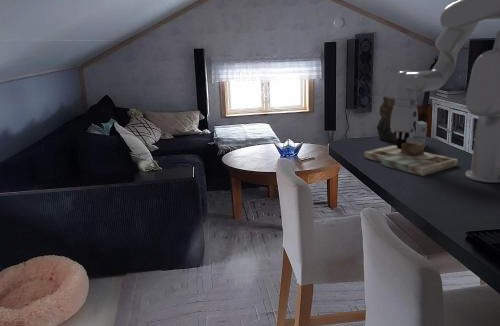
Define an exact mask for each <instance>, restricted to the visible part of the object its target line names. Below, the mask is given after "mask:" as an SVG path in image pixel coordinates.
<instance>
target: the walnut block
mask: <svg viewBox="0 0 500 326" xmlns="http://www.w3.org/2000/svg"><path fill="white" fill-rule="evenodd" d="M424 150H425V147H424V144H421V143H417V142H412V141H411V142H406V143H402V146H401V154H406V155H410V156H418V155H422V154H424V152H425V151H424Z"/></svg>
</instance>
